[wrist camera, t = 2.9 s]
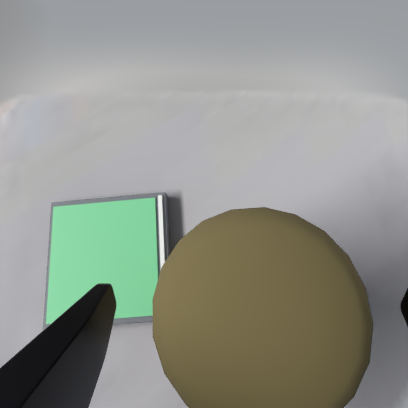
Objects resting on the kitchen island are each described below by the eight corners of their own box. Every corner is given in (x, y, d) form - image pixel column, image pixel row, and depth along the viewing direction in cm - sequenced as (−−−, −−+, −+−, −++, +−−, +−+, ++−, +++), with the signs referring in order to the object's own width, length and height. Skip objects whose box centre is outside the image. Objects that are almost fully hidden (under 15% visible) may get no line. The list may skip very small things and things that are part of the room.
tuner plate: (173, 317, 16) (170, 320, 15) (51, 327, 16) (41, 330, 15) (167, 196, 18) (164, 191, 17) (58, 206, 18) (50, 202, 17)
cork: (289, 244, 17) (415, 182, 6) (287, 356, 15) (452, 541, 4) (188, 235, 17) (137, 163, 6) (176, 343, 15) (85, 484, 5)
